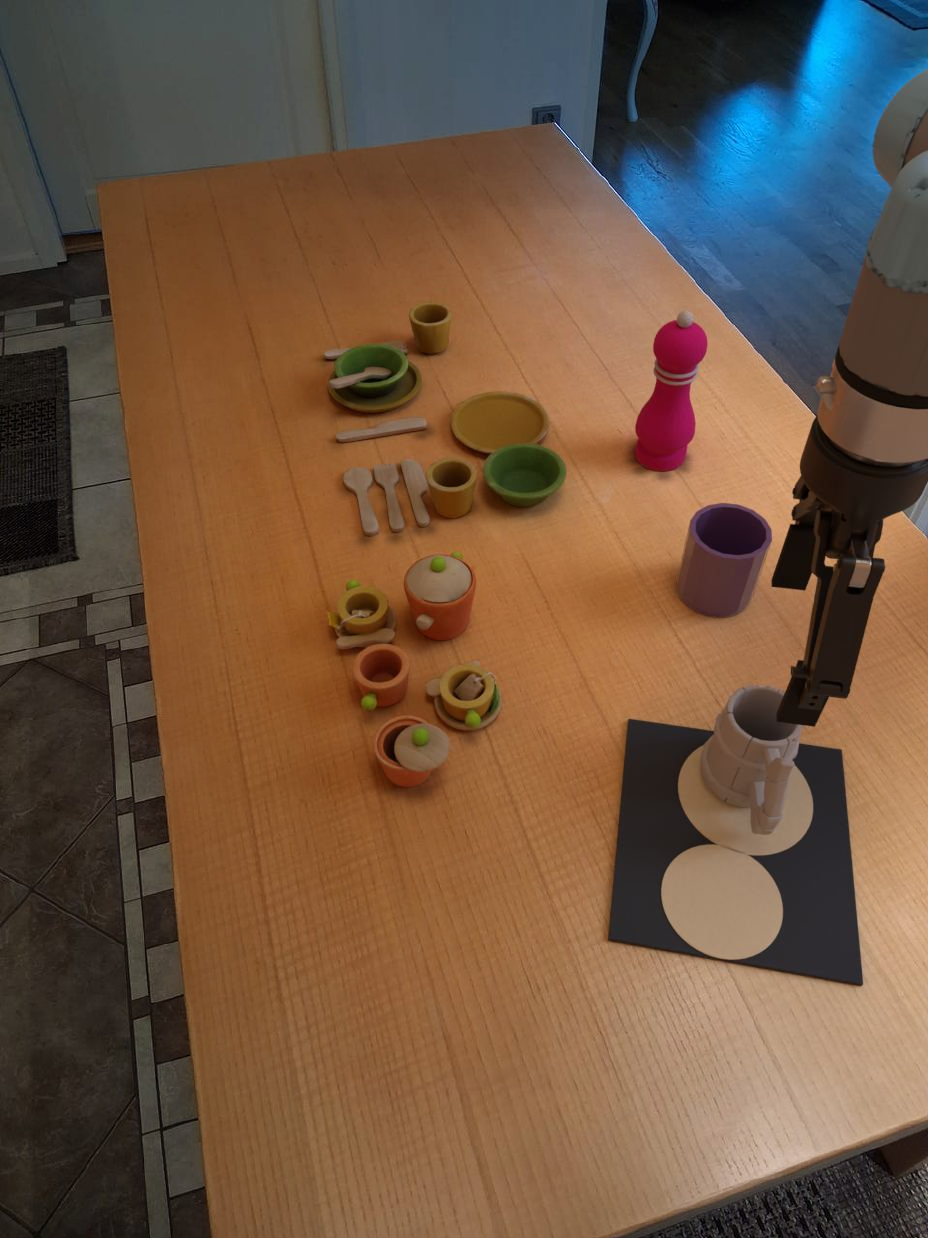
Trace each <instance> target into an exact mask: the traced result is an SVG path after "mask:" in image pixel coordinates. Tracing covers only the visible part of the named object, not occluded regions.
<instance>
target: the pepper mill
mask: <svg viewBox="0 0 928 1238" xmlns="http://www.w3.org/2000/svg"><path fill="white" fill-rule="evenodd" d="M708 345H709V344H708V337H707V333H706V332H705V330H704V329H703V328H702V327H701V325H699V323H697V322H694V316H693V313H692V312H691V311H688V310H683V311H681V312H680V313H678V315H677V317H676V319H674V320H671V321H668V322H667V323H665V324H664V325H662V327H660V328H659V329H658V330H657V332H656V334H655V337H654V338H653V344H652V351H653V355H654V356H655V361H654V367H653V375H654V377H655V386H654V388H653V392H652V394H651V395H650V397H649V399H647V401H646V403H644V404H643V406H642V408H641V409H640V411H639V413H638V415H637V418H636V422H635V427H634V428H635V429H634V431H635V435H636V437H637V440H636V447H635V450H634V451H635V452H634V453H635V454H634V455H635V458H636V460H637V461H638V463H639V464H640V465H642V466H643V467H645V468H647V469H649V470H653V471H657V472H668V471H669V472H670V471H673V470H675V469H678V468H679V467H681V466H682V465H683V464H684V462H685V460H686V455H687V451H688V445H689V444H690V443H691V442H692V441H693V440H694V438H695V434H696V433H695V432H696V415H695V412H694V408H693V404H692V401H691V395H690V394H691V385H692V383H693V382H694V381H695V380H696V379H697V377H698V371H699V368H700V365H699V364H700V363H701V362H702V361H703V360H704V358H705V357H706V354H707V352H708Z"/></svg>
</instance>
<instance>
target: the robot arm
mask: <svg viewBox="0 0 928 1238" xmlns="http://www.w3.org/2000/svg"><path fill="white" fill-rule="evenodd" d="M871 146H872V159H873V163H874V167H875V169H876V172H877V173H878V174H879V176H880V177H881V178H882V179H883V180H884V181H885V183H886V184H887V185H888V186H889V187H890V188H891V189H890V191H889V192H888V195H887V197H886V199H885V202H884V204H883V207H882V210H881V211H880V215H879V217H878V220H877V222H876V225H875V227H874V229H873V230H872V232H871V234H870V235H869V240H868V241H867V244H866V248H867V249H866V251H865V255H864V261H863V264H862V267H861V270H860V273H859V276H858V279H857V283H856V287H855V290H854V293H853V296H852V299H851V303H850V306H849V309H848V313H847V315H846V319H845V323H844V326H843V329H842V333H841V336H840V339H839V342H838V345H837V349H836V353H835V356H834V359H833V362H832V365H831V372H830V375H829V376H828V375H823V376H822V375H821V376H819V377H818V378H817V379H816V385H815V387H814V389H815V390H816V391H817V392H818V394H822V395H821V399H820V402H819V405H818V408H817V415H816V416H815V417H814V419H813V420H812V423H811V426H810V429H809V432H808V435H807V438H806V441H805V444H804V448H803V452H802V453H801V456H800V461H799V472H800V473H799V474H800V476H799V478H798V479H797V481H796V483H795V485H794V487H793V488H792V491H791V494H792V499H793V500H799V501H798V503H796V504H795V505H794V506H793V507H792V510H791V513H790V516H791V520H792V521H794V523H790V524H789V527H788V529H787V533H786V536H785V539H784V541H783V544H782V547H781V551H780V553H779V556H778V560H777V562H776V565H775V568H774V571H773V574H772V577H771V583H770V585H771V588H778V589H786V590H795V591H805V592H806V590H807V587H808V585H809V582H810V580H811V576H812V575H813V576H815V577H816V584H815V590H814V596H813V601H812V602H813V603H812V609H811V614H810V620H809V627H808V632H807V637H806V644H805V645H806V646H805V649H804V650H805V651H804V656H803V659H797V662H796V665H790V677H791V678H790V679H789V682H788V684H787V686H786V689H785V691H784V692H785V694H784V696H783V698H782V701H781V703H780V706H779V708H778V711H777V713H776V718H777V722H782V723H789V724H797V725H803V727H804V726H806V727H812V728H815V727H816V726H817V724H818V721H819V719H820V717H821V715H822V713H823V711H824V710H825V709H824V708H825V707H826V704H827V703H828V700H829V698H835V699H843V700H847V699H848V698H849V695H850V693H851V687H852V683H853V679H854V675H855V671H856V667H857V664H858V660H859V656H860V653H861V648H862V645H863V641H864V637H865V633H866V629H867V625H868V622H869V617H870V614H871V610H872V605H873V602H874V597H875V595H876V593H877V590H878V587H879V585H880V582H881V580H882V577H883V575H884V573H885V572H886V564H885V562H886V561H885V559H884V558H880V557H874V555H875V549H876V545H877V544H878V543H879V542H880V540H881V538H882V534H883V527H884V519H886V518H888V517H891V516H893V515H895V514H899V513H901V512H903V511H905V510H907V509H909V508H911V507H912V506H913V505H915V504H916V503H917V502H918V501H919V499H921V497H922V495H923V493H924V491H925V489H926V487H927V484H928V68H927V69H925V70H922V71H921V72H919V73H918V74H917V75H915V76H914V77H912V78H911V79H910V80H908V81H907V82H906V83H905V84H904V85H902V87H900V89H898V91H897V92H896V93H895V94H894V95H893V97H892V98H891V100H890V101H889V102H888V103H887V105H886V107H885V108H884V110H883V112H882V114H881V115H880V118H879V120H878V122H877V125H876V128H875V132H874V136H873V142H872V145H871ZM826 558H828V559H831V560H836V562H835V563H834V564H833V565H832V566H831V565H826V563H825V562H826Z"/></svg>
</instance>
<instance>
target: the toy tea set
mask: <svg viewBox="0 0 928 1238" xmlns="http://www.w3.org/2000/svg"><path fill="white" fill-rule="evenodd" d="M476 586H477V577H476V574H475V572H474V570H473V568H472V566H470V564H469V563H468V562H466V560H464V556H463V554H462V553H461V552H460V551H453V552H451V553H450V554H445V553H439V554H438V553H437V554H431V555H427V556H424V557H421V558H419V559H418V560H416V561H415V562H414V563H413V564H411V565H410V566H409V568H408V569H407V570H406V572H405V574H404V577H403V590H404V593H405V596H406V600H407V602H408V605H409V608H410V611H411V614H412V617H413V621H414V623H415V625H416V628H417V630H419V632H420V633H421V634H422V635H424V636H425V637H427V638H429V639H432V640H437V641H447V640H452V639H454V638H456V637H458V636H459V635H461V634H462V633H463V632H464V631H465V630H466V629H467V627H468V625H469V622H470V617H471V614H472V613H471V612H472V607H473V603H474V597H475V593H476ZM345 589H346V591H344V592H343V593H342V594H341V595H340V597H339V598H338V600H337V603H336V612H337V613H334V612H332V611H329V610H327V611H326V612H327V617H328V621H329V622H328V623H329V627H333V628H334V631H335V634H336V636H337V637H338V638H337V639H336V642H335V643H336V647H337V649H339V650H348V649H353V648H364V649H362V650H361V651H360V652H359V653H358V654H357V655H356V656H355V658H354V660H353V663H352V675H353V678H354V679H355V682H356V685H357V686H358V688H359V690H360V692H361V695H362V696H363V697H362V699H361V701H360V706H361V708H362V709H363V710H364V711H367V712H371V711H373V710H374V709H376V707H389V706H393V705H395V704H397V703H398V702H399V701H401V700H402V699H403V698H404V697H405V695H406V693H407V689H408V683H409V678H410V677H409V676H410V670H411V669H410V668H411V663H410V659H409V656H408V654H407V653H406V652H405V651H404V650H403V649H401V648H400V647H398V646H397V645H394V644H390V643H391V642H393V641H394V640H395V638H396V632H395V630H396V627H397V622H398V620H397V619H398V618H397V613H396V611H395V608H393V607H392V605H390V604H389V600H388V598H387V595H386V594H385V593H384V592H383V591H382V590H380V589H378V588H376V587H375V586H369V585H361V584H360V582H359V581H358V580H357V579H350V580H348V581H347V582H346V585H345ZM425 692H426V694H427V695H428V696H430V697H434V699H433V701H434V708H435V712H436V715H437V716H438V717H439V719H440V720H441V721H442V722H443V723H444V724H445V725H447V726H448V727H451V728H454V729H456V730H461V731H475V730H479V729H482V728H484V727H486V726H488V725H490V724H491V723H493V721H494V720H495V719H496V718H497V717H498V715H499V714H500V712H501V709H502V701H503V700H502V694H501V692H500V689H499V687H498V683H497V679H496V677H495V675H494V673H492V672H488V670H487V669H485V668H484V667H481V663H480V661H477V660H471V661H469V662H467V663H464V664H463V663H462V664H458V665H454V666H452V667H451V668H449V669H447V670H446V671H445V672H444V673H443V674H442V675H441V677H436V678H433V679H431V680H429V682H428V683H427V684H426V686H425ZM372 744H373V751H374V753H375V756H376V758H377V760H378V762H379V764H380V766H381V768H382V770H383V773H384V774H385V776H386V778H387V779H388V780H389V781H390V782H391V783H393V784H394V785H396V786H398V787H402V788H412V787H416V786H418V785H420V784H422V783H423V782H425V781H426V780H427V779H428V778H429V777H430V776H431V774H432V771H433V770H436V769H437V768H439V767H440V766H442V765H443V763H445V762H446V760H447V759H448V757H449V755H450V750H451V745H450V739H449V736H448V735H447V733H446V732H445V731H444V730H443V729H442V728H440V727H438V726H436V725H434V724H432V723H431V724H430V723H429V722H428V721H427V720H425V719H423V718H422V717H419V716H416V715H408V714H406V715H399V716H395V717H392V718H390V719H388V720H387V721H386V722H384V723H383V724H382V725H381V726H380V727H379V728H378V730H377V731H376V733H375V735H374V737H373V743H372Z"/></svg>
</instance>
